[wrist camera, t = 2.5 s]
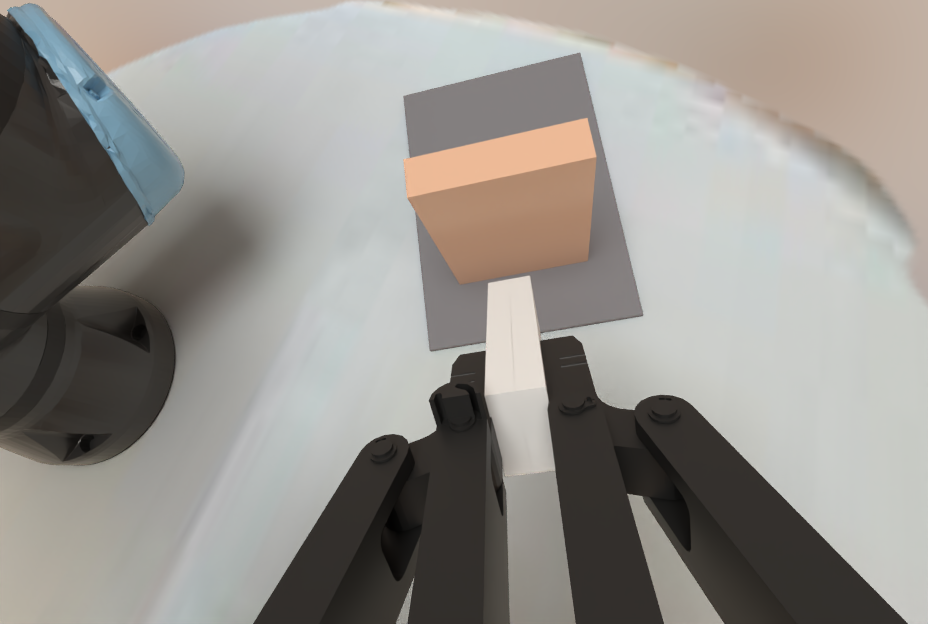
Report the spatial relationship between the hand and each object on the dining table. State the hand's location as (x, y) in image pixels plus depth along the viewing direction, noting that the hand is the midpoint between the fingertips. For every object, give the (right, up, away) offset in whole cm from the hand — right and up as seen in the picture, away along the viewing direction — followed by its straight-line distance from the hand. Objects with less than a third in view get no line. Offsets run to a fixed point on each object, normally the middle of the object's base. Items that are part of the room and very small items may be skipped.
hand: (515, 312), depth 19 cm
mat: (+2, +10, +24) cm, 26 cm away
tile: (+2, +4, +22) cm, 22 cm away
